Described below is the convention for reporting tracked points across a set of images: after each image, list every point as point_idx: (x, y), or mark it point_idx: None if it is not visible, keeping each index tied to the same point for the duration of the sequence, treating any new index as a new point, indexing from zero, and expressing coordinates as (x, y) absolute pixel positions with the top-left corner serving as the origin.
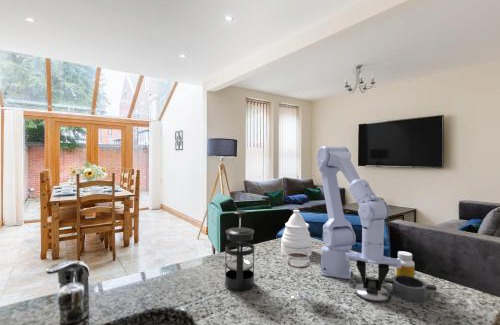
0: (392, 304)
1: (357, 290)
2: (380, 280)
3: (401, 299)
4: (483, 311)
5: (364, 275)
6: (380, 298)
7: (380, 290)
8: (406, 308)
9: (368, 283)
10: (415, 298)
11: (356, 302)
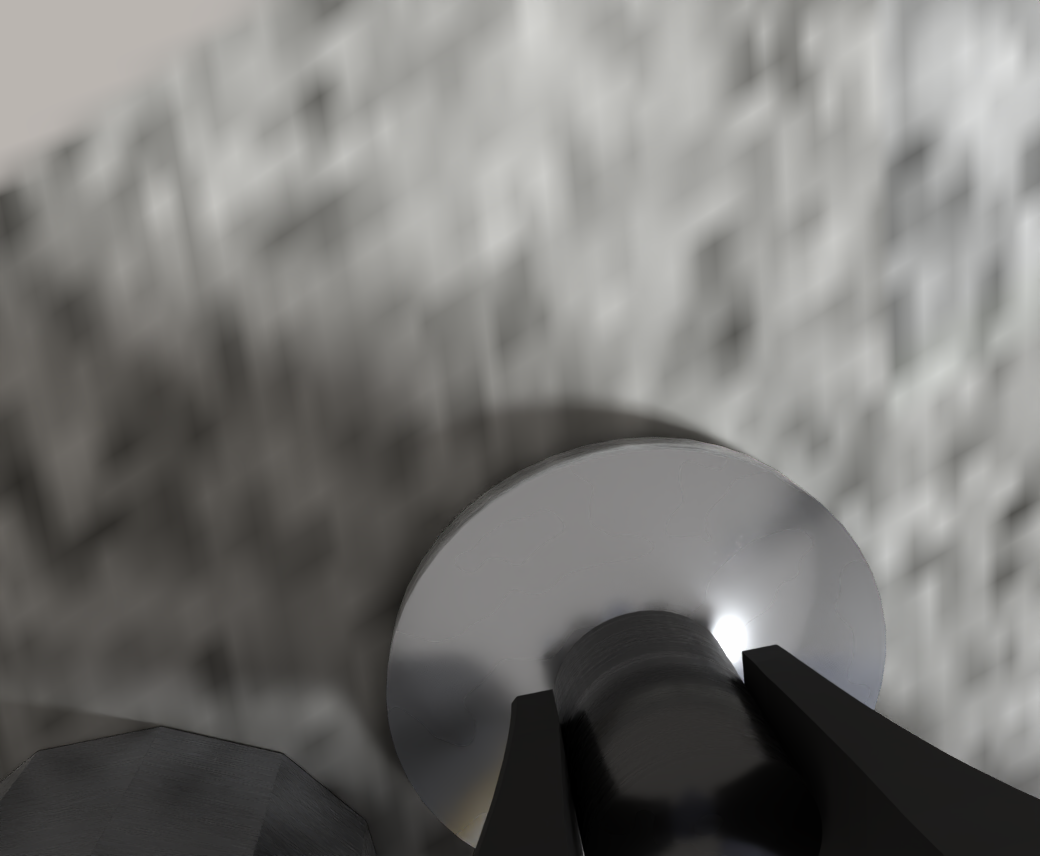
0: (324, 540)
1: (849, 582)
2: (536, 833)
3: (233, 743)
4: None
5: (925, 805)
6: (491, 517)
7: (514, 702)
8: (125, 533)
9: (744, 716)
10: (8, 804)
11: (818, 301)
